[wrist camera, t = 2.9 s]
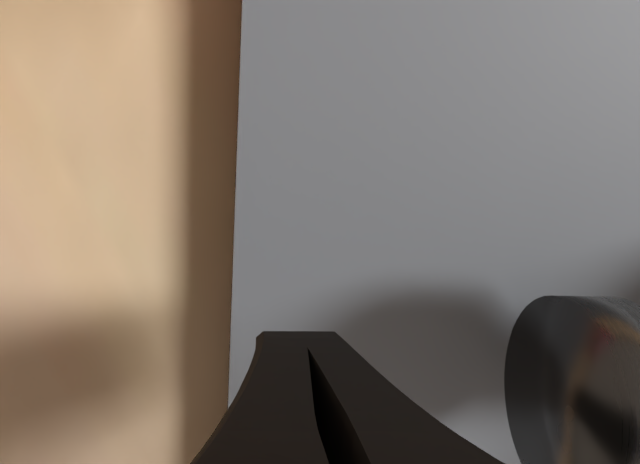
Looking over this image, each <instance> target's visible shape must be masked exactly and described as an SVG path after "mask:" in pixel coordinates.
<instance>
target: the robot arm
mask: <svg viewBox="0 0 640 464" xmlns="http://www.w3.org/2000/svg"><path fill="white" fill-rule="evenodd" d="M190 464H505V463H503V462H501V461H500V460H498V459H496V458H495V457H493V456H491V455H490V454H488V453H487V452H485V451H483V450H482V449H480V448H479V447H477V446H476V445H474V444H472V443H471V442H469V441H468V440H466V439H464V438H463V437H461V436H460V435H458V434H457V433H455V432H454V431H452V430H451V429H450V428H448V427H447V426H445V425H444V424H442V423H441V422H440V421H438V420H437V419H436V418H434V417H433V416H432V415H430V414H429V413H428V412H427V411H425V410H424V409H423V408H421V407H420V406H419V405H417V404H416V403H415V402H413V401H412V400H411V399H410V398H409V397H407V396H406V395H405V394H404V393H402V392H401V391H400V390H399V389H398V388H396V387H395V386H394V385H393V384H392V383H391V382H389V381H388V380H387V379H386V378H385V377H384V376H383V375H381V374H380V373H379V372H378V371H377V370H376V369H375V368H374V367H373V366H371V365H370V364H369V363H368V362H367V361H366V360H365V359H364V358H363V357H362V356H361V355H360V354H359V353H358V352H356V351H355V350H354V349H353V348H352V347H351V346H350V345H349V344H348V343H347V342H346V341H345V340H344V339H343V338H342V337H340V336H339V335H338V334H337V333H336V332H335V331H263V332H262V333H260V334H259V335H258V336H257V337H256V348H255V352H254V356H253V359H252V361H251V364H250V367H249V369H248V372H247V374H246V376H245V378H244V380H243V382H242V384H241V386H240V388H239V391H238V393H237V394H236V396H235V398H234V400H233V402H232V403H231V405H230V407H229V408H228V410H227V412H226V413H225V415H224V417H223V418H222V420H221V422H220V423H219V425H218V426H217V428H216V429H215V431H214V432H213V434H212V435H211V437H210V438H209V440H208V441H207V442H206V444H205V445H204V447H203V448H202V449H201V451H200V452H199V453H198V454H197V456H196V457H195V458H194V460H193V461H192V462H191V463H190Z"/></svg>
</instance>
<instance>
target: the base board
mask: <svg viewBox="0 0 640 464" xmlns="http://www.w3.org/2000/svg"><path fill="white" fill-rule="evenodd" d="M551 295H553V296H615V297H621V298H625V299H628V300H631V301H633V302H635V303H636V304H638V305H640V0H242V10H241V39H240V67H239V96H238V125H237V153H236V182H235V210H234V239H233V268H232V296H231V325H230V353H229V382H228V408H229V407H230V405H231V403H232V402H233V400H234V398H235V396H236V394H237V393H238V391H239V388H240V386H241V384H242V382H243V380H244V378H245V376H246V374H247V372H248V369H249V367H250V364H251V361H252V359H253V356H254V352H255V348H256V337H257V336H258V335H259V334H260V333H262V332H263V331H335V332H336V333H337V334H338V335H339V336H340V337H342V338H343V339H344V340H345V341H346V342H347V343H348V344H349V345H350V346H351V347H352V348H353V349H354V350H355V351H356V352H358V353H359V354H360V355H361V356H362V357H363V358H364V359H365V360H366V361H367V362H368V363H369V364H370V365H371V366H373V367H374V368H375V369H376V370H377V371H378V372H379V373H380V374H381V375H383V376H384V377H385V378H386V379H387V380H388V381H389V382H391V383H392V384H393V385H394V386H395V387H396V388H398V389H399V390H400V391H401V392H402V393H404V394H405V395H406V396H407V397H409V398H410V399H411V400H412V401H413V402H415V403H416V404H417V405H419V406H420V407H421V408H423V409H424V410H425V411H427V412H428V413H429V414H430V415H432V416H433V417H434V418H436V419H437V420H438V421H440V422H441V423H442V424H444V425H445V426H447V427H448V428H450V429H451V430H452V431H454V432H455V433H457V434H458V435H460V436H461V437H463V438H464V439H466V440H468V441H469V442H471V443H472V444H474V445H476V446H477V447H479V448H480V449H482V450H483V451H485V452H487V453H488V454H490V455H491V456H493V457H495V458H496V459H498V460H500V461H501V462H503V463H505V464H521V462H520V459H519V457H518V455H517V452H516V449H515V446H514V443H513V439H512V436H511V432H510V428H509V423H508V418H507V411H506V404H505V391H504V370H505V359H506V353H507V347H508V343H509V339H510V335H511V332H512V329H513V327H514V325H515V323H516V320H517V319H518V317H519V315H520V314H521V312H522V311H523V310H524V308H525V307H526V306H527V305H528V304H529V303H531V302H532V301H534V300H535V299H537V298H539V297H543V296H551Z"/></svg>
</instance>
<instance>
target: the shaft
mask: <svg viewBox="0 0 640 464" xmlns="http://www.w3.org/2000/svg"><path fill="white" fill-rule="evenodd" d="M504 391H505V404H506V411H507V418H508V423H509V428H510V432H511V436H512V439H513V443H514V446H515V449H516V452H517V455H518V457H519V459H520V462H521V464H640V305H638V304H636V303H635V302H633V301H631V300H628V299H625V298H621V297H615V296H553V295H551V296H543V297H539V298H537V299H535V300H534V301H532V302H531V303H529V304H528V305H527V306H526V307H525V308H524V310H523V311H522V312H521V314H520V315H519V317H518V319H517V320H516V323H515V325H514V327H513V329H512V332H511V335H510V339H509V343H508V347H507V353H506V359H505V370H504Z"/></svg>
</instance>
